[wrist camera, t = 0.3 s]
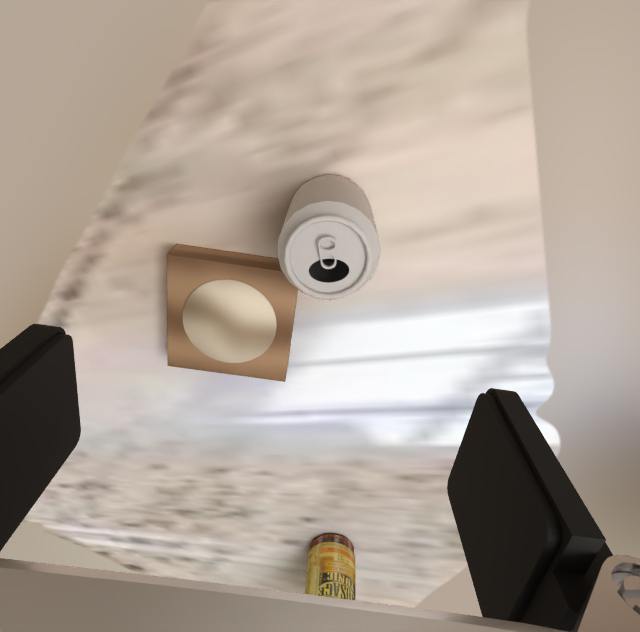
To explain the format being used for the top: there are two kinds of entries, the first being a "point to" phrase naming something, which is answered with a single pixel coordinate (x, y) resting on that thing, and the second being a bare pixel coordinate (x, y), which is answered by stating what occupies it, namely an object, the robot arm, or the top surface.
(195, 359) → the base
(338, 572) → the sauce bottle
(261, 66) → the top surface
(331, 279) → the can
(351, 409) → the top surface
